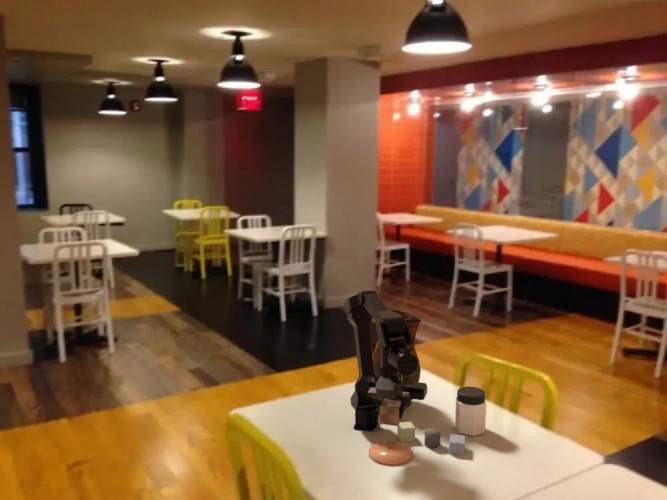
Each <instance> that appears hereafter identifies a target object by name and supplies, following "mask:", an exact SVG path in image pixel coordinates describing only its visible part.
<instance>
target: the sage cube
mask: <svg viewBox="0 0 667 500" xmlns="http://www.w3.org/2000/svg"><path fill="white" fill-rule="evenodd" d="M396 427H397V430H396V431H397V437H398V438H399V440H400V441H401V442H400V443H404V442H411V441H412V442H413V441H415V440H416V427H415V426H414V424H413V423H412V422H411V421H404V422H403V421H402V422H401V421H400V423H399V425H398V426H396Z"/></svg>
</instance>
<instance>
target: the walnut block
mask: <svg viewBox="0 0 667 500" xmlns="http://www.w3.org/2000/svg"><path fill="white" fill-rule="evenodd" d="M400 406H401V401H396V400H388V399H384V400H383V402H382V403H381V405H380V419H379V425H388V426H394V427H397V426H398V425H399V423H401V421H402V418H403V417H402V418H401V419H400V418H399V413H400Z"/></svg>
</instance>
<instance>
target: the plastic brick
mask: <svg viewBox="0 0 667 500" xmlns="http://www.w3.org/2000/svg"><path fill="white" fill-rule="evenodd" d="M449 436H450V437H449V442H448V443H449V444H448V447H449V448H448V454H449V455H460V456H464V455H465V449H466V448H465V445H466V442H465V440H466V435H465V434H451V433H450V434H449Z"/></svg>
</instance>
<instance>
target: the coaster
mask: <svg viewBox="0 0 667 500" xmlns="http://www.w3.org/2000/svg"><path fill="white" fill-rule="evenodd" d="M368 456H369V458H370V459H371V460H372V461H374V462H375V463H379V464H382V465H387V466H388V465H389V466H397V465H404V464H406V463H408V462H409V461H411V460H412V458H413V450H412V448H411V447H410V446H409V445H407V444H405V443H404V442H398V441H392V440H391V441H390V440H388V441H387V440H386V441H379V442H376V443H374V444H372V445H371V446H370V447H369V448H368Z"/></svg>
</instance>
